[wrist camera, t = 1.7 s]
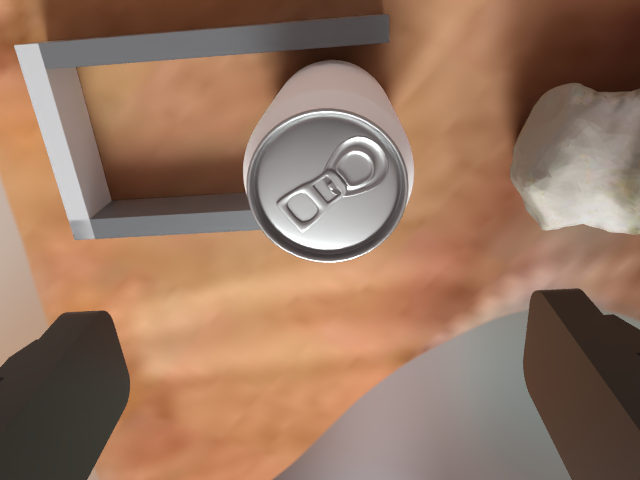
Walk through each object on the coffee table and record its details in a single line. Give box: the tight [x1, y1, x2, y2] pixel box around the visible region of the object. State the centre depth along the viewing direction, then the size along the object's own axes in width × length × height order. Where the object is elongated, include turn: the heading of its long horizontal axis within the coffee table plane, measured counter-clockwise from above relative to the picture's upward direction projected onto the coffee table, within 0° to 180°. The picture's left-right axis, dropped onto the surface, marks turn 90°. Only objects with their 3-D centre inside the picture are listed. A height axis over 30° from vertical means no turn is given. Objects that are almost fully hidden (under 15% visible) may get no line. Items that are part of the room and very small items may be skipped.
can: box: [243, 60, 414, 263], centre depth 23 cm, size 6×6×12 cm
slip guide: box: [14, 14, 389, 240], centre depth 27 cm, size 18×10×3 cm, turn 94°
